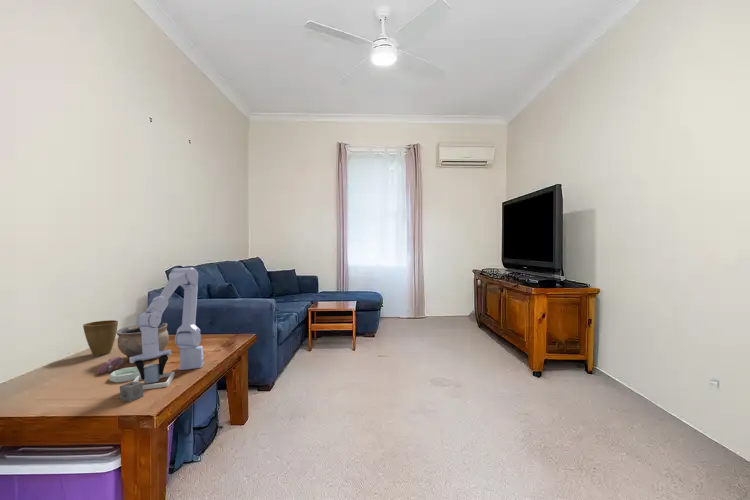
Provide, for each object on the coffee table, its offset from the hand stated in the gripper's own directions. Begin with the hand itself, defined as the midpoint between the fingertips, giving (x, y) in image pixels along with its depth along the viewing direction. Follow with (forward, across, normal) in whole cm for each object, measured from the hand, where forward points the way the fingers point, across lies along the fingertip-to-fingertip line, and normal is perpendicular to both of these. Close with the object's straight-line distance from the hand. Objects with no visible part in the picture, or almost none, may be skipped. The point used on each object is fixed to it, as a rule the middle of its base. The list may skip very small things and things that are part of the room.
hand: (152, 376), depth 160 cm
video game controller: (+3, +8, -32) cm, 34 cm away
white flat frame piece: (+2, 0, 0) cm, 2 cm away
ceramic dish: (+2, +5, -16) cm, 17 cm away
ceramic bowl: (+3, -8, -44) cm, 45 cm away
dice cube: (+3, +10, +12) cm, 16 cm away
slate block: (+2, 0, 0) cm, 2 cm away
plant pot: (+3, +5, -70) cm, 70 cm away
